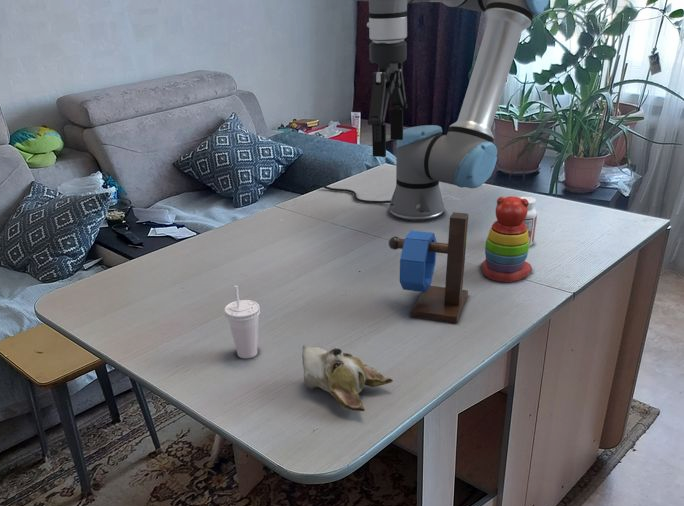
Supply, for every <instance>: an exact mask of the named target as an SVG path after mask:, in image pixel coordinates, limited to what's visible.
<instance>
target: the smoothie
mask: <svg viewBox="0 0 684 506" xmlns="http://www.w3.org/2000/svg"><path fill="white" fill-rule="evenodd" d="M234 293H235V300H234V301H232V302H230V303H228V304H226V305H225V307H224V316H225V318H226V319H227V321H228V325H229V329H230V332H231V336H232V339H233V344H234V346H235V350H236V354H237V356H238V357H239V358H241V359H252V358H254V357H255V356H257V355H258V345H259V341H258V339H259V315H260V313H261V308H260V304H259V303H258V302H256V301H255V300H251V299H240V294H239V293H240V292H239V286H238V285H234Z"/></svg>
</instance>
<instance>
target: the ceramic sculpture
mask: <svg viewBox="0 0 684 506" xmlns="http://www.w3.org/2000/svg"><path fill="white" fill-rule="evenodd" d="M301 354H302V356H301V357H302V358H301V359H302V367H303V382H304V384H305V386H306V387H307V388H308V389H314V388H320V389H322V390H323V391H325V392H327V393H329V394H330V395H331V396H332V397H333V398H334V399H335V401H336V402H337V403H338V404H339V405H340V406H341V407H342V408H344V409H346V410H351V411H356V412H357V411H358V412H365V410H366V409H365V407H364V406H363V402H362V398H361V397H360V393H361V392H362V390H363V389H364V387H365V386H368V387H371V388H376V387H381V386H384V385H387V384H391V383H393V382H394V380H393V378H391V377H385V376H384V375H382V374H381V373H380V372H378V371H377V370H376V369H375V368H374V367H371V366H369V365H368V364H364V363H363V362H362V360H361V359H360V358H359V357H357V356H354V355H353V354H351V353H346V352H343V351H342V349H341V348H338V347H337V348H336V347H334V348H331V349H328V350H327V349H324V348H321V347H319V346H312V345H308V344H303V345H302V353H301Z"/></svg>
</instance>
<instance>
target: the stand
mask: <svg viewBox="0 0 684 506" xmlns="http://www.w3.org/2000/svg"><path fill="white" fill-rule="evenodd" d="M468 223H469V213H466V212H455V211H454V212H451V214H450V217H449V225H448V240H447V242H446V243H445V242H431V243H430V245H429V248H428V252H435V253H436V254H444V255H445V254H446V255H447V256H446V268H445V269H446V272H445V284H444V285H445V287H444V286H437V285H430V287H429V288H428V290H427V292H421V294H420V296H419V297H418V300H417V302H416V303H415V305H414V307H413V308H412V313H411V316H412V318H417V319H423V320H431V321H437V322H445V323H450V324H451V323H452V324H457V323H458V321H459V318H460V316H461V313H462V311H463V309H464V306H465V303H466V301H467V298H468V296H469V295H468V294H469V290H468V289H463V288H464V287H463V286H464V276H465V275H464V274H465V262H466V250H467V249H466V248H467V237H468V226H469V225H468ZM404 240H405V238H400V237H398V236H392V237H390V239H388V246H389V248H390V249H392V250H398V249H399V250H402V249H403V244H404Z"/></svg>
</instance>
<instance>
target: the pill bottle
mask: <svg viewBox="0 0 684 506" xmlns="http://www.w3.org/2000/svg"><path fill="white" fill-rule="evenodd" d="M519 198H521V199H527V200H528V202H529V205H528V206H527V209H528V211H527V216H526V218H525V220H524V222H523V223H524V224H525V225H526V227H527V230H528V235H529V247H530V246H532V245H533V244H534V241H535V234H536V227H537V219H538V210H537V209H536V204H537V203H536V202H537V199H535V198H534V197H531V196H519Z"/></svg>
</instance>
